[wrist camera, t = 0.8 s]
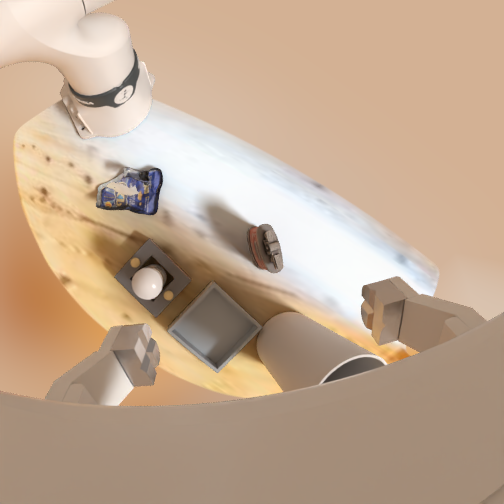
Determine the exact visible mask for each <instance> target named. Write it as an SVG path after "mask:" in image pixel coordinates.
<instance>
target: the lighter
mask: <svg viewBox="0 0 504 504" xmlns="http://www.w3.org/2000/svg"><path fill="white" fill-rule="evenodd" d="M247 237H248V244H249V249H250V252H251V255H252V258H253V260H254V262H255V264H256V266H257V267H258V268H259V269H262V270H268V271H269V272H271V273H278V272H280V271H281V270H282V269H283V259H282V252H281V248H280V244H279V241H278V239H277V236H276V234H275V232H274V230H273V228H272V227H271V225H269V224H262V225H260V226H259V227H252V228H250V229H249V230H248V232H247Z"/></svg>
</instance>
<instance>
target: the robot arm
mask: <svg viewBox="0 0 504 504" xmlns="http://www.w3.org/2000/svg"><path fill="white" fill-rule="evenodd" d="M113 1H115V0H0V68H3V67H6V66H9V65H12V64H16V63H21V62H43V63H47V64H50V65H53V66H55V67H56V68H57V69H58V70H59V71H60V72H61V73H62V74H63V76H64V77H65V78H64V85H63V87H62V89H61V92H60V94H61V96H62V100H63V102H64V104H65V105H66V107H67V110H68V112H69V114H70V116H71V118H72V120H73V122H74V124H75V127H76V129H77V131H78V133H79V135H80V136H81V138H82V139H89V138H93V137H96V136H101V137H116V136H120V135H123V134H126V133H128V132H130V131H131V130H133V129H134V128H136V127H137V126H138V125H139V124H140V123H141V122H142V121H143V120H144V119H145V118H146V116H147V114H148V113H149V111H150V108H151V104H152V87H153V85H154V82H155V78H154V75H153V74H151V73H149V72H147V69H146V66H145V63H144V62H141V61H139V59H138V56H137V54H136V52H135V50H134V49H133V47H132V41H131V36H130V32H129V27H128V26H127V24H126V22H125V21H124V20H123V19H121V18H120V17H117V16H115V15H112V14H108V13H90V12H92V11H94V10H96V9H98V8H100V7H102V6H104V5H106V4H108V3H110V2H113ZM89 13H90V14H89ZM84 127H85V128H84ZM82 128H84V130H82ZM362 296H363V298H364V299H365V300H364V302H363V303H362V305H361V315H362V320H363V322H364V325H365V326H366V328H368V329H370V330H372V337H373V338H374V339H375V341H376V342H377V344H378V345H383V344H386V343H390V342H393V341H396V340H398V341H399V342H401V343H403V344H405V345H407V346H409V347H410V348H412V349H414V350H416V351H418V352H420V353H418V354H415V355H413V356H410V357H407V358H405V359H402V360H399V361H396V362H394V363H391V364H388V365H385V366H382V367H379V368H376V369H373V370H370V371H366V372H363V373H360V374H356V375H353V376H349V377H346V378H342V379H339V380H335V381H331V382H327V383H323V384H319V385H315V386H310V387H306V388H301V389H297V390H292V391H287V392H282V393H277V394H271V395H265V396H259V397H253V398H246V399H239V400H232V401H223V402H213V403H203V404H192V405H173V406H118V405H119V404H120V403H121V401H122V400H123V399H124V398H125V397H126V396H127V395H128V394H129V392H130V391H131V390H132V389H133V387H135V386H151V385H154V381H155V377H156V371H155V368H156V367H157V366H158V365H159V361H160V352H159V348H158V345H157V343H156V341H155V340H153V339H152V338H151V334H152V331H151V329H150V327H149V325H148V324H146V323H145V324H134V325H124V326H123V325H121V326H113V327H111V328H110V330H109V332H108V334H107V336H106V337H105V339H104V341H103V343H102V345H101V347H100V349H99V351H98V352H94V353H92V354H91V355H90V356H88V357H87V358H85V359H84V360H83V361H82V362H80V363H79V364H77V365H76V366H74V367H73V368H72V369H70V370H69V371H68V372H66V373H65V374H63V375H62V376H61V377H59V378H58V379H56V380H55V381H54V382H53V384H52V386H51V388H50V390H49V391H48V393H47V395H46V397H45V399H39V398H33V397H27V396H22V395H17V394H12V393H7V392H3V391H0V504H504V312H503V313H501V314H500V315H498V316H496V317H494V318H492V319H491V320H489V321H486V320H485V319H484V318H483V317H482V316H480V315H479V314H478V313H477V312H476V311H475V310H474V309H473V308H470V307H467V306H463V305H460V304H456V303H453V302H449V301H445V300H442V299H438V298H435V297H431V296H428V295H424V294H421V295H419V294H418V293H417V292H416V291H414V290H413V289H412V288H411V287H410V286H409V285H408V284H407V283H406V282H405V281H403V280H402V279H401V278H400V277H397V276H396V277H393V278H389V279H386V280H383V281H379V282H375V283H372V284H368V285H364V286H363V288H362Z"/></svg>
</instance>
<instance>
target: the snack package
mask: <svg viewBox="0 0 504 504" xmlns="http://www.w3.org/2000/svg"><path fill="white" fill-rule="evenodd" d="M111 182H115V183H117V182H118V183H119V184H124V185H126V186H128V187H129V188H131V187H133V186H134V185H136V188H137V191H138V192H139V194H135V195H132V196H129V195H123V194H120V193H118V192H116V191H115V190H113V189H110V188H108V187H107V188H106V186H107V185H108V184H109V183H111ZM162 182H163V176H162V171H161V170H160V169H158V168H154V169H151V170H149V171H142V172H140V171H136V170H133V169H131V168H128V167H125V168H124V173H122V174H120V175H119V176H118V177H117V178H115V179H112V180H110V181H109V182H107V183H104V184H102V185H100V186H99V187H98V194H97V203H96V207H97V208H101V209H105V210H130V211H132V212H135V213H138V214H146V215H154V214H156V212H157V210H158V200H159V193H160V189H161V186H162ZM159 184H161V185H160V186H159ZM158 186H159V188H158ZM102 187H105V188H104V189H103V190H102V191H101V189H102ZM157 188H158V193H157Z"/></svg>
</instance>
